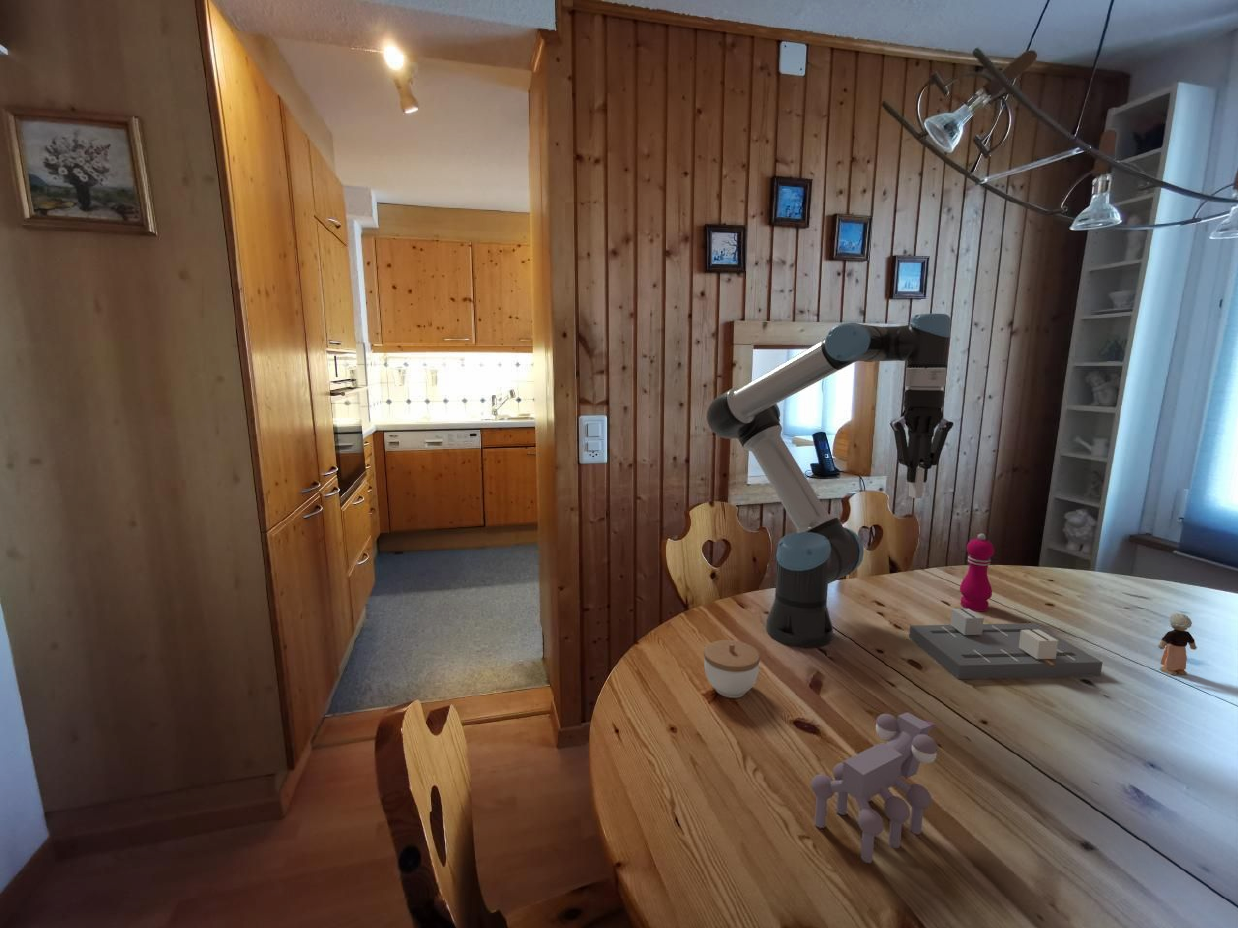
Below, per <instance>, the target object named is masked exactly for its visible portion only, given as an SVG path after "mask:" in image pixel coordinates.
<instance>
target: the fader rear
mask: <svg viewBox="0 0 1238 928" xmlns="http://www.w3.org/2000/svg"><path fill="white" fill-rule="evenodd" d="M983 624H984V617H983V616H982V615H980V614H978V613H977V612H976V611H974V610H970V609H967V608H952V609H951V617H950V625H951V626H952V627H954V628H955V629H957V630H958V631H959V632H961V633H962V634H964V635H982V629H983Z"/></svg>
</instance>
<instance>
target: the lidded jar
mask: <svg viewBox="0 0 1238 928" xmlns="http://www.w3.org/2000/svg"><path fill="white" fill-rule="evenodd" d="M703 658H704V660H703V662H704V665H703V666H704V671H705V676H706V678H707V681H708V683H709V684H710V685H711V687H712V688H713V689H714V690H715V691H716V693H717V694H718V695H721V696H722V697H726V698H733V699H734V698H741V697H743V696H745V695H746V693H747V692H749V691H750V690H751V689H752V688H753V687H754V685H755V683H756V682H757V678H758V676H759V669H760V661H761V655H760V651H758V649H756V647H754V646H753V645H751V644H748V643H747V642H743V641H739V640H735V639H720V640H715V641H712V642H710V643H708V644H706V646H705V648H704V649H703Z"/></svg>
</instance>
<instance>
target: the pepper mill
mask: <svg viewBox="0 0 1238 928" xmlns="http://www.w3.org/2000/svg"><path fill="white" fill-rule="evenodd" d="M966 551H967V553H968V556H967V558H968V559H967V562H968V564H969V565H968V566H969V567H968V570H967V573H966V575H965V576H964V578H963V579H962V581H961V583H960V586H959V592H960V593H961V595H962V596H961V597H960V605H961V606H962V607H963V608H964V609H970V610H972V611H974V612H985V611H988V610H989V604H990V603H989V601H988V600H990V599H991V598H992V596H993V588H992V586H991V583H990V581H989V580H990V579H989V578H988V568H989V566H990V565H991V561H992V560H991V557H993V555H994V553H995V549H994V545H993V543H991V542H990V541H989V540H986V535H985V534H984V533H979V534H977V538H974V539H971V540H970V541H969V542H968V543H967V546H966Z"/></svg>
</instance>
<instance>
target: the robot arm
mask: <svg viewBox="0 0 1238 928" xmlns="http://www.w3.org/2000/svg"><path fill="white" fill-rule="evenodd" d="M950 341H951V317H950V316H949V315H948V314H946V313H921V314H914V315H912V316H911V317H910V320H909V324H906V325H899V326H898V325H896V326H880V325H870V324H864V323H863V324H862V323H857V322H845V323H844V322H843V323H840V324H836V325H834V327H832V328H831V329H830V330H829V332H827V335H826V336H825V338H823V339H822V340H821V341H819V342H817V343H815V344H813V345H811V346H810V347H808V348H807V349H805V350H804V351H802V352H800V353H798V354H796V355H795V356H793V357H791V358H790V359H788V360H787V361H785V362H783V363H781V364H780V365H778V366H776V367H774V368H773V369H771V370H770V371H767V372H766V373H764V374H762V375H761V376H759V377H758V378H756V379H754V380H752V381H750V382H748V383H746V385H744V386H741V387H740V388H739V387H733V388H731V389H729V390H727V391H725V392H724V393H721V394H720V395H719V396H717V397H716V398H714V400H712V402H711V403H710V404H709V406H708V409H707V411H706V412H707V413H706V421H707V425H708V426H709V429H710V430H711V432H713V433H714V434H715V435H717V436H718V437H720V438H722V439H728V440H729V439H737V440H738V441H739V443H740V445H741V447H742V448H743V450H744V451H749V452H750V453H751V452H752V454H753V456H754V458H755V459H756V461H757V463H758V464H759V466H760V468H761V470H762V472H763V473H764V475H765V476H766V479H767V480H768V482H769V483H770V486H771V487H772V489H773V490H774V493H775V494H776V496H777V497H778V499H779V500H780V502H781V504H782V507H783V508H784V509H785V512H786V513H787V515H788V516H789V519H790V520H791V521H792V523H793V525H794V526H795V528H796V532H792V533H788V534H785V535H784V536H783V537H781V538H780V540H779V541H778V543H777V551H776V555H775V557H776V569H775V572H776V573H775V592H774V594H775V595H774V600H773V603H772V606H771V608H770V610H769V612H768V615H767V618H766V621H765V622H766V625H765V626H766V627H765V628H766V629H765V630H766V632H767V635H769V636H770V637H771V638H773V639H774V640H776V641H777V642H780V643H783V644H786V645H789V646H793V647H799V648H819V647H824V646H826V645H828V644H830V643H831V642H832V641H833V636H834V635H833V634H834V626H833V623H832V620H831V617H830V612H829V609H828V606H827V605H828V604H827V602H828V601H827V600H828V590H829V589H828V588H829V587H828V585H829V584H830V583H833V582H835V581H837V580H839V579H842V578H844V577H847V576H849V575H851V574H852V573H853V572H854V571H856V570H857V568H859V567H860V565H861V564H862V562H863V558H864V555H865V554H864V553H865V552H864V546H863V545H864V544H863V542H862V539H861V538H860V536H859V535H858V534H857V533H856V532H855V531H854V530H852V529H850V528H848V527H845V526H843V523H841V521H840V519H839V518H838V517H837V515H833V514H829V513H828V512H827V510H826V509H825V507H824V505H823V504H822V501H821V500H820V499H819V497H818V495H817V493H816V492H815V491H814V489H813V487H812V485H811V484H810V482H809V481H808V479H807V477H806V476H805V474H804V472H803V471H802V469H801V468H800V466H799V464H798V463H797V461H796V459H795V458H794V456H793V454H792V452H791V451H790V449H789V448H788V446H787V444H786V442H785V441H784V440H783V438H782V436H781V435H782V432H783V431H782V430H783V426H782V425H781V423H780V422H781V419H780V417H781V411H780V408H779V406H778V403H780V402H782V401H784V400H786V399H788V398H789V397H791V396H793V395H796V394H798V393H799V392H801V391H804V390H805V389H807V388H808V387H811V386H812V385H814V384H816V383H817V382H820V381H822V380H824V379H825V378H827V377H829V376H830V375H833V374H834V373H837V372H838V371H840V370H843V369H845V368H847V367H848V366H850V365H852V364H854V363H856V362H865V363H867V362H869V363H873V362H898V361H901V362H902V361H903V362H906V371H905V381H904V382H905V383H904V386H905V387H906V388H907V389H906V390H905V391H904V396H903V397H904V398H903V408H904V409H903V411H902V412H901V417H900V418H898V419H897V420H892V421H890V422H889V426H890V427H891V429H892V430H893V434H894V439H895V447H896V452H897V459H898V464H900V465H903V466H906V467H907V469H906V482H908V483H909V485H908V486H909V487H908V496H909V497H911V498H913V499H923V492H924V491H923V490H924V483H926V482H927V481H928V475H929V474H928V473H929V472H928V471H929V470H930V469H931V468H932V466H937V465H938V464H939V461H940V458H941V455H942V452H943V449H944V445H945V442H946V440H947V437H948V433H949V432H950V431H951V429H952V428H953V426H954V422H953V421H949V420H948V419H946V418H945V417H944V413H943V407H944V403H945V401H944V400H945V393H946V392H945V391H944V390H942V388H945V387H946V377H947V368H948V356H949V349H950V348H949V347H950ZM905 428H907V434H906V430H905ZM935 429H936V430H935ZM907 435H908V439H907Z"/></svg>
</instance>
